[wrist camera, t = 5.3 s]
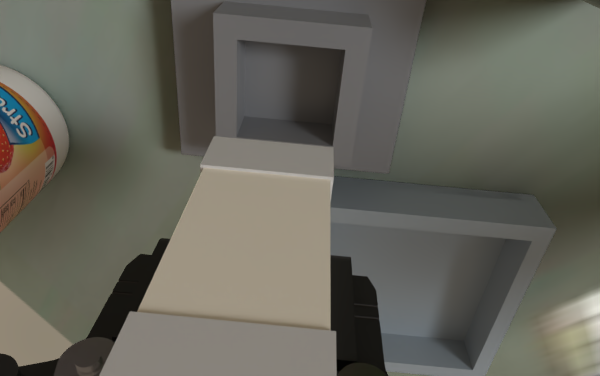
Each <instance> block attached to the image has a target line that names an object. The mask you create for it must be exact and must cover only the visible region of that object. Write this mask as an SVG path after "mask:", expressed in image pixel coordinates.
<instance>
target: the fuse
mask: <svg viewBox="0 0 600 376" xmlns="http://www.w3.org/2000/svg"><path fill="white" fill-rule="evenodd" d="M200 169H201V174H200V176H199V179H198V181H197V183H196V185H195V187H194V189H193V192H192V194H191V196H190V198H189V200H188V202H187V205H186V207H185V209H184V211H183V213H182V215H181V218H180V220H179V222H178V224H177V226H176V228H175V231H174V233H173V235H172V237H171V239H170V241H169V244H168V246H167V248H166V250H165V252H164V254H163V257H162V259H161V261H160V263H159V265H158V267H157V270H156V272H155V274H154V276H153V278H152V280H151V283H150V285H149V287H148V289H147V291H146V293H145V296H144V298H143V300H142V302H141V304H140V306H139V309H138V311H137V312H132V311H130V312H129V314H128V317H127V319H126V321H125V323H124V325H123V327H122V329H121V331H120V333H119V335H118V337H117V339H116V342H115V344H114V346H113V348H112V350H111V352H110V354H109V356H108V358H107V360H106V362H105V365H104V367H103V369H102V371H101V373H100V375H99V376H337V361H336V331H331V280H330V202H331V194H332V187H333V180H334V151H333V147H323V146H312V145H302V144H291V143H281V142H270V141H260V140H249V139H239V138H228V137H218V136H214V137H213V139H212V141H211V143H210V145H209V147H208V150H207V152H206V154H205V156H204V158H203V160H202V162H201V164H200Z"/></svg>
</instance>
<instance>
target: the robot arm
mask: <svg viewBox="0 0 600 376" xmlns="http://www.w3.org/2000/svg"><path fill="white" fill-rule="evenodd" d="M169 241H170V239H164V238H161V239H160V240H159V242H158V244H157V246H156V248H155V250H154V252H153V254H152V255H145V254H140V255H139V256H137V257H136V258H135V259H134V260H133V261H131V262H130V263H129V264H128V265H127V266H126V268H125V269H124V271H123V273H122V275H121V277H120V278H119V282H117V284H116V286H115V288H114V289H113V293H112V294H111V295H110V297H109V298H108V300H107V302H106V304H105V306H104V308H103V309H102V311H101V313H100V315H99V317H98V319H97V320H96V322H95V324H94V326H93V328H92V329H91V331H90V333H89V335H88V337H87V338H86V339H84V340H81V341H79V342H77V343H75V344H74V345H72V346H71V347H69V348H68V349H67V350H66V351H65V352H64V353H63V354H62V355H61V357H60V358H59V359H56V360H52V361H48V362H42V363H37V364H32V365H26V366H21V367H18V365H17V363H16V361H15V360H14V359H13V358H12V357H11V356H8V355H6V354H0V376H99V375H100V373H101V371H102V369H103V367H104V365H105V362H106V360H107V358H108V356H109V354H110V352H111V350H112V348H113V346H114V344H115V342H116V339H117V337H118V335H119V333H120V331H121V329H122V327H123V325H124V323H125V321H126V319H127V317H128V314H129V312H130V311H132V312H137V311H138V309H139V306H140V304H141V302H142V300H143V298H144V296H145V293H146V291H147V289H148V287H149V285H150V283H151V280H152V278H153V276H154V274H155V272H156V270H157V267H158V265H159V263H160V261H161V259H162V257H163V254H164V252H165V250H166V248H167V246H168V244H169ZM330 280H331V331H336V361H337V376H388V374H387V372H386V369H385V363H384V354H383V345H382V337H381V328H380V321H379V310H378V302H377V293H376V289H375V288H374V286H373V284H372V283H371V281H370V280H369V278H368V276H358V275H352V263H351V257H346V256H336V255H330Z"/></svg>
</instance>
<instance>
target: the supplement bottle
mask: <svg viewBox="0 0 600 376" xmlns="http://www.w3.org/2000/svg"><path fill="white" fill-rule="evenodd" d="M583 1H585V2H587V3H589V4H591V5H593V6H596V7H598V8H600V0H583Z"/></svg>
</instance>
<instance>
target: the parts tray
mask: <svg viewBox="0 0 600 376" xmlns="http://www.w3.org/2000/svg"><path fill="white" fill-rule="evenodd" d="M556 229H557V228H556V227H555V225H554V224H553V222H552V221H551V219H550V218H549V217H548V215H547V214H546V212H545V211H544V209H543V208H542V206H541V205H540V203H539V202H538V200H537V199H536V198H535V196H534V195H529V194H518V193H507V192H497V191H486V190H476V189H465V188H454V187H444V186H433V185H423V184H412V183H401V182H391V181H380V180H369V179H359V178H348V177H338V176H334V180H333V187H332V194H331V202H330V255H336V256H346V257H351V263H352V275H358V276H368V278H369V280H370V281H371V283H372V284H373V286H374V288H375V289H376V293H377V302H378V310H379V321H380V328H381V337H382V345H383V354H384V363H385V369H386V371H390V372H401V373H412V374H422V375H433V376H485V375H486V373H487V371H488V369H489V367H490V365H491V363H492V360H493V358H494V356H495V354H496V352H497V350H498V348H499V346H500V344H501V342H502V340H503V338H504V336H505V334H506V332H507V330H508V328H509V326H510V324H511V322H512V319H513V317H514V315H515V313H516V311H517V309H518V307H519V305H520V303H521V301H522V299H523V297H524V295H525V293H526V291H527V289H528V287H529V285H530V283H531V280H532V278H533V276H534V274H535V272H536V270H537V268H538V266H539V264H540V262H541V260H542V258H543V256H544V254H545V252H546V250H547V248H548V246H549V244H550V242H551V239H552V237H553V235H554V233H555V231H556Z"/></svg>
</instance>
